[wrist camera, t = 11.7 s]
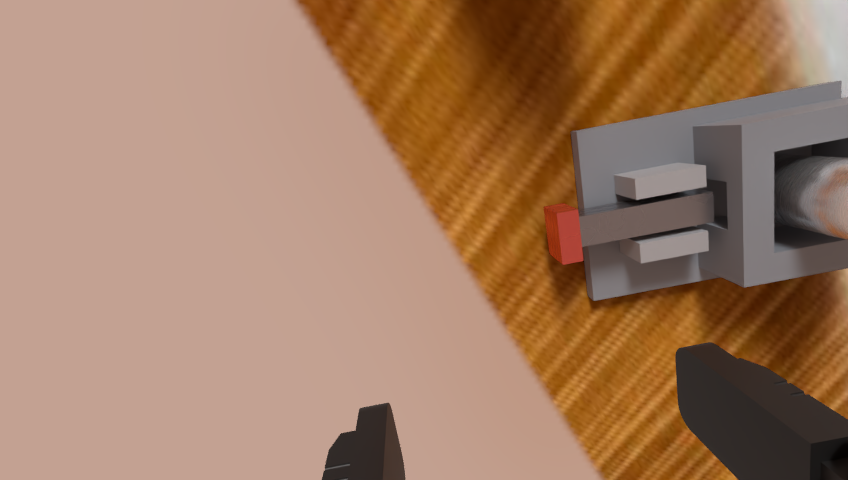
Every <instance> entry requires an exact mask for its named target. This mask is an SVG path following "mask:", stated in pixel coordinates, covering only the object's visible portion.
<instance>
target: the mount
mask: <svg viewBox="0 0 848 480" xmlns="http://www.w3.org/2000/svg"><path fill="white" fill-rule="evenodd" d="M571 140H572V150H573V159H574V169H575V178H576V188H577V198H578V207H579V209H584V208H590V207H595V206H600V205H605V204H611V203H616V202H621V201H627V200H632V199H635V200H639V199H644V198H649V197H654V196H660V195H665V194H670V193H676V192H681V191H686V190H691V189H703V190H708V191H713V200H714V222H711V223H706V224H701V225H696V226H690V227H685V228H680V229H674V230H669V231H664V232H659V233H653V234H648V235H643V236H637V237H632V238H627V239H622V240H616V241H611V242H606V243H600V244H595V245H590V246H585V247H583V255H584V264H585V274H586V283H587V293H588V296H589V297H590V298H591V299H592V300H593V301H597V300H602V299H607V298H613V297H618V296H623V295H629V294H634V293H639V292H645V291H650V290H655V289H661V288H666V287H671V286H677V285H682V284H687V283H693V282H698V281H703V280H709V279H714V278H719V277H722V278H724V279H726V280H729V281H731V282H733V283H735V284H737V285H740V286H742V287H750V286H755V285H760V284H766V283H771V282H776V281H782V280H787V279H792V278H798V277H803V276H808V275H814V274H819V273H824V272H830V271H835V270H840V269H846V268H848V240H847V239H842V238H838V237H834V236H830V235H826V234H822V233H817V232H813V231H809V230H805V229H801V228H796V227H792V226H788V225H784V224H780V223H776V222H774V154H787V155H806V156H825V157H844V158H848V97H847V98H841V81H836V82H828V83H822V84H817V85H812V86H806V87H801V88H796V89H791V90H785V91H780V92H775V93H770V94H765V95H759V96H754V97H749V98H744V99H738V100H733V101H728V102H723V103H718V104H712V105H707V106H702V107H697V108H692V109H686V110H681V111H676V112H671V113H665V114H660V115H655V116H650V117H645V118H639V119H634V120H629V121H624V122H618V123H613V124H608V125H603V126H598V127H592V128H587V129H582V130H577V131H572V132H571Z"/></svg>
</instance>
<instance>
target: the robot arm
mask: <svg viewBox="0 0 848 480" xmlns="http://www.w3.org/2000/svg"><path fill="white" fill-rule="evenodd" d="M676 375H677V393H678V405H679V410H680V413H681V415H682V418H683V420H684V422H685V423H686V425H687V426H688V428H689V429H690V430H691V431H692V432H693V433H694V434H695V435H696V436H697V437H698V438H699V439H700V441H701V442H702V443H703V444H704V445H705V446H706V447H707V448H708V449H709V450H710V451H711V452H712V453H713V454H714V455H715V456H716V457H717V458H718V459H719V460H720V461H721V462H722V463H723V464H724V465H725V466H726V467H727V468H728V469H729V470H730V471H731V472H732V473H733V474H734V475H735V477H736V478H737V479H738V480H848V420H847V419H846V418H844V417H843V416H841V415H840V414H838V413H836V412H835V411H833V410H832V409H830V408H829V407H827V406H826V405H824V404H822V403H821V402H819V401H818V400H816V399H815V398H813V397H811V396H810V395H808V394H807V395H805V394H804V391H802V390H801V389H799V388H797V387H796V386H794V385H793V384H791V383H789V384H788V383H787V381H786V380H785V379H783V378H782V377H780V376H779V375H777V374H776V373H774V372H772V371H771V370H769V369H768V368H766V367H763V366H761V365H758V364H755V363H752V362H750V361H747V360H744V359H741V358H739V359H737V358H735V357H734V356H732V355H731V354H729V353H728V352H726V351H725V350H723V349H722V348H720V347H719V346H717V345H716V344H714V343H704V344H699V345H693V346H688V347H683V348H679V349H678V350H677V352H676ZM322 480H405V471H404V463H403V458H402V452H401V448H400V444H399V439H398V435H397V431H396V426H395V422H394V418H393V413H392V409H391V406H390V404H389V403H384V404H379V405H374V406H369V407H364V408H360V409H359V414H358V420H357V426H356V431H351V432H346V433H341V434H340V436H339V437H338V438H337V440H336V441H335V443H334V444H333V446H332V447H331V448H330V449H329V452H328V456H327V460H326V465H325V471H324V473H323V477H322Z"/></svg>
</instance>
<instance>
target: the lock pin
mask: <svg viewBox="0 0 848 480" xmlns="http://www.w3.org/2000/svg"><path fill="white" fill-rule="evenodd" d="M544 213H545V221H546V229H547V238H548V246H549V254H550V255H552V256H553V257H554V258H555V259H556V260H558V261H559V262H560V263H561V264H562V265H564V264H570V263H575V262H580V261H583V251H582V247H585V246H590V245H595V244H600V243H606V242H611V241H616V240H622V239H627V238H632V237H637V236H643V235H648V234H653V233H659V232H664V231H669V230H674V229H680V228H685V227H690V226H696V225H701V224H706V223H711V222H714V200H713V191H708V190H703V189H691V190H686V191H681V192H676V193H670V194H665V195H660V196H654V197H649V198H644V199H639V200H635V199H632V200H627V201H621V202H616V203H611V204H605V205H600V206H595V207H590V208H584V209H579V210H578V209H576V208H573V207H571V206H569V205H566V204H564V203H561V204H556V205H551V206H545V207H544Z"/></svg>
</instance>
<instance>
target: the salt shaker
mask: <svg viewBox="0 0 848 480" xmlns="http://www.w3.org/2000/svg"><path fill="white" fill-rule="evenodd" d="M774 222H776V223H780V224H784V225H788V226H792V227H796V228H801V229H805V230H809V231H813V232H817V233H822V234H826V235H830V236H834V237H838V238H842V239H847V240H848V158H844V157H825V156H806V155H787V154H774Z"/></svg>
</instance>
